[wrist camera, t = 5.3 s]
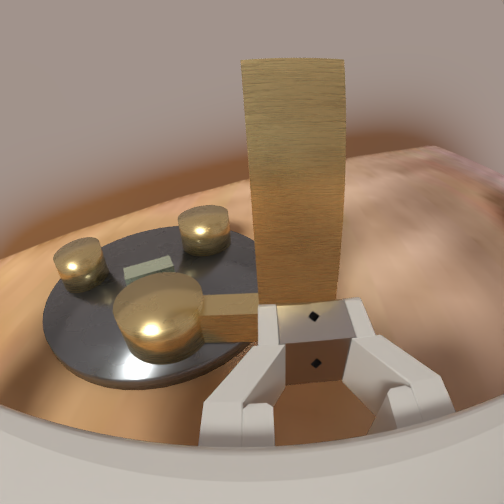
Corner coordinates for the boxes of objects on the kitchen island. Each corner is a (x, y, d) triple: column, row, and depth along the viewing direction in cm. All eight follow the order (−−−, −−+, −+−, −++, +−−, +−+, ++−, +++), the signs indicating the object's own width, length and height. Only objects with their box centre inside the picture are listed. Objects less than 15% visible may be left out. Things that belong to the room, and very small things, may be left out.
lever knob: (321, 298, 23) (325, 64, 14) (336, 359, 17) (359, 55, 9) (139, 304, 23) (89, 94, 15) (116, 362, 18) (29, 106, 10)
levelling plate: (225, 219, 40) (221, 186, 37) (329, 326, 22) (334, 277, 20) (59, 265, 32) (47, 233, 30) (40, 417, 15) (5, 377, 13)
